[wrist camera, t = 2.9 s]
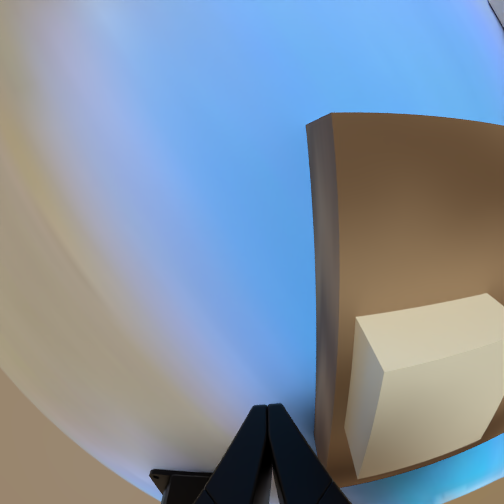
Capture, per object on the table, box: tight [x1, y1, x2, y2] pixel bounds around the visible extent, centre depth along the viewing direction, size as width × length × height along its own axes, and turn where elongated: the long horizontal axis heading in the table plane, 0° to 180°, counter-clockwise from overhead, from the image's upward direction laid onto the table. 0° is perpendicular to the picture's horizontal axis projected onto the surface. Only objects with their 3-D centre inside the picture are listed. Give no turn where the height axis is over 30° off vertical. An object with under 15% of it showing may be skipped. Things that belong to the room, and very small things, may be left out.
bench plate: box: [306, 113, 504, 488], centre depth 11 cm, size 16×12×4 cm
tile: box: [344, 293, 504, 479], centre depth 8 cm, size 5×5×2 cm
